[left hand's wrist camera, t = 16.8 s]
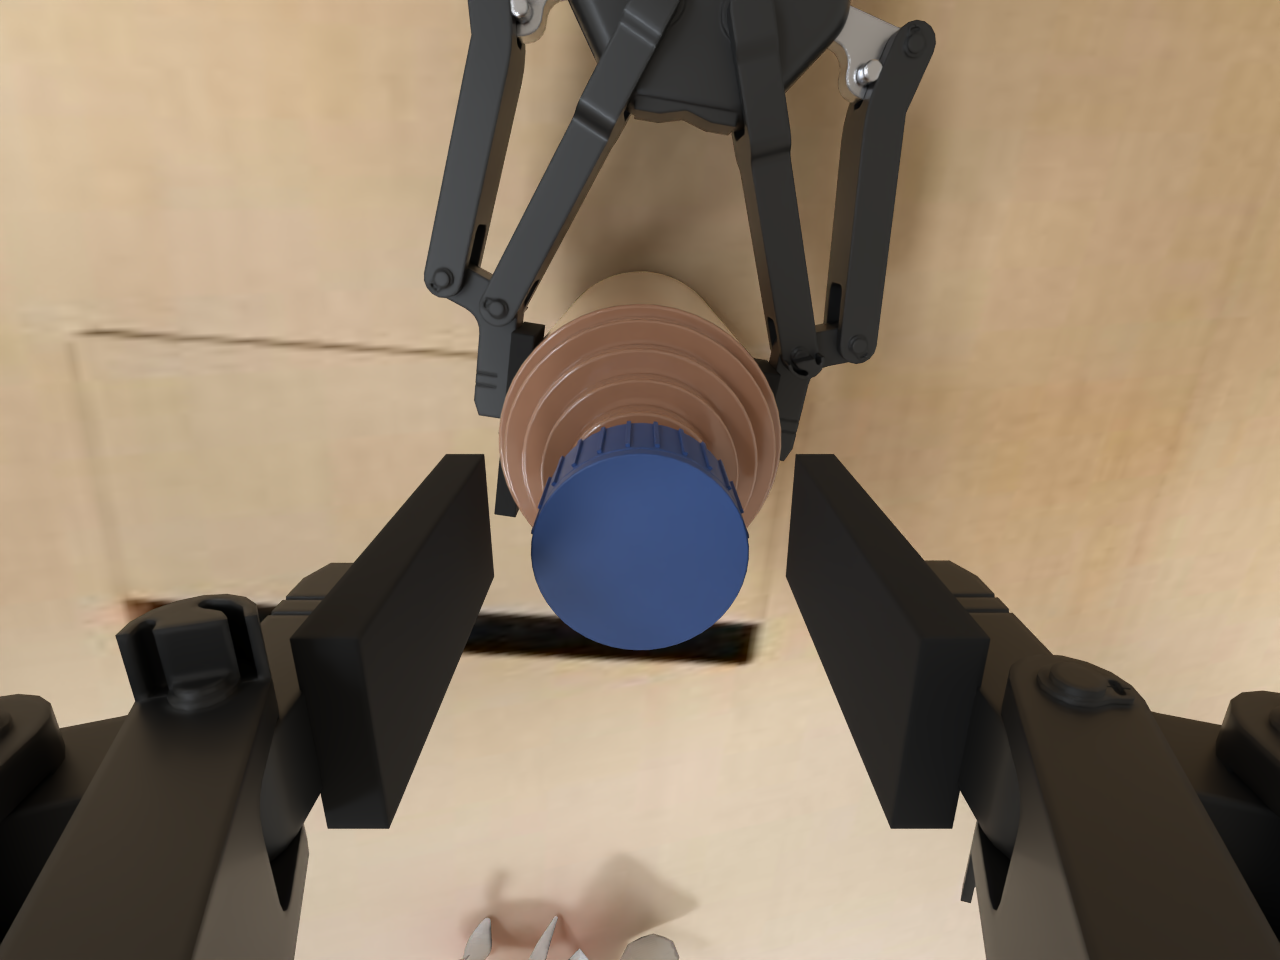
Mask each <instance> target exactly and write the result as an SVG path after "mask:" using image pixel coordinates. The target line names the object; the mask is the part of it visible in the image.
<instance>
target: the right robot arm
mask: <svg viewBox="0 0 1280 960" xmlns="http://www.w3.org/2000/svg"><path fill="white" fill-rule="evenodd" d="M560 1H565V0H468V7H469V16H470V25H471V34H472V35H471V40H470V45H469V50H468V55H467V60H466V65H465V70H464V75H463V80H462V85H461V90H460V95H459V100H458V105H457V110H456V115H455V120H454V125H453V130H452V135H451V140H450V146H449V151H448V156H447V161H446V166H445V171H444V176H443V181H442V186H441V191H440V196H439V201H438V206H437V211H436V216H435V221H434V226H433V231H432V236H431V241H430V246H429V251H428V256H427V261H426V266H425V271H424V281H425V284H426V286H427V288H428V289H429V291H430V292H431V293H432V294H434V295H436V296H438V297H441V298H447V299H449V300H451V301H453V302H455V303H457V304H458V305H460V306H462V307H464V308H466V309H467V310H469V311H470V312H471V313H472V314H473V315H474V316H475V318H476V320H477V322H478V325H479V346H478V359H477V373H476V385H475V397H474V401H475V404H476V408H477V411H478V414H479V415H481V416H488V417H494V418H501V412H502V409H503V405H504V401H505V397H506V395H507V392H508V390H509V388H510V385H511V383H512V380H513V379H514V377H515V375H516V374H517V372H518V370H519V369H520V367H521V365H522V364H523V362H524V361H525V360H526V359H527V357H528V356H529V355H530V354H531V352H532V351H533V350H534V349H535V348H536V346H537V345H538V344H539V343H540V342H541V341H542V339H543V338H544V330H545V325H542V324H535V323H529V322H524V323H523V317H524V312H525V311H526V310H527V308H528V307H527V305H528V304H529V302H530V300H531V298H532V296H533V294H534V292H535V290H536V289H537V287H538V285H539V283H540V281H541V279H542V277H543V276H544V274H545V272H546V270H547V268H548V266H549V264H550V262H551V261H552V259H553V257H554V255H555V253H556V251H557V249H558V247H559V246H560V244H561V242H562V240H563V238H564V236H565V234H566V233H567V231H568V229H569V227H570V225H571V223H572V221H573V219H574V218H575V216H576V214H577V212H578V210H579V208H580V206H581V204H582V203H583V201H584V199H585V197H586V195H587V193H588V191H589V190H590V188H591V186H592V184H593V182H594V180H595V178H596V176H597V175H598V173H599V171H600V169H601V167H602V165H603V163H604V161H605V160H606V158H607V156H608V154H609V152H610V150H611V149H612V147H613V145H614V144H615V143H616V141H617V139H618V138H619V136H620V134H621V132H622V130H623V129H624V127H625V125H626V123H627V121H628V119H629V117H630V116H631V114H633V115H635V119H638V120H644V121H650V122H655V123H661V122H670V121H678V120H683V121H686V122H688V123H690V124H692V125H694V126H696V127H698V128H700V129H702V130H704V131H706V132H712V133H718V134H723V135H729V134H730V133H732V139H733V145H734V150H735V156H736V160H737V164H738V166H739V169H740V173H741V179H742V185H743V191H744V197H745V202H746V208H747V214H748V220H749V226H750V232H751V238H752V244H753V250H754V256H755V261H756V267H757V273H758V279H759V285H760V291H761V297H762V303H763V309H764V315H765V320H766V326H767V332H768V338H769V344H770V349H771V356H770V360H769V362H768V361H767V360H761V359H755V358H753V359H754V360H755V361H756V362H757V364H758V366H759V367H760V369H761V370H762V372H763V374H764V375H765V377H766V379H767V381H768V383H769V386H770V388H771V390H772V392H773V395H774V398H775V402H776V405H777V408H778V412H779V419H780V426H781V451H780V459H779V460H781V461H784V460H785V459H786V457H787V456H788V454H789V453H790V451H791V450H792V449H793V445H794V440H795V436H796V432H797V428H798V424H799V420H800V416H801V412H802V408H803V404H804V400H805V395H806V391H807V387H808V384H809V381H810V379H811V378H812V377H815V376H816V375H817V374H818V373H819V372H820V371H821V370H822V368H824V367H827V366H831V365H836V364H841V363H847V362H850V363H854V364H858V363H863V362H865V361H867V360H868V359H870V358H871V356H872V355H873V354H874V352H875V349H876V346H877V338H878V330H879V322H880V314H881V306H882V298H883V290H884V282H885V275H886V267H887V259H888V251H889V243H890V235H891V227H892V219H893V211H894V203H895V195H896V187H897V179H898V171H899V163H900V155H901V148H902V140H903V132H904V124H905V116H906V112H907V110H908V107H909V105H910V103H911V101H912V99H913V96H914V94H915V92H916V90H917V87H918V85H919V83H920V81H921V79H922V76H923V74H924V72H925V70H926V68H927V65H928V63H929V61H930V59H931V56H932V54H933V52H934V48H935V44H936V41H935V33H934V31H933V29H932V27H931V26H930V25H929V24H927V23H926V22H925V21H920V20H915V21H911V22H908V23H907V24H905V25H904V26H903V27H902V28H899V27H896V26H894V25H892V24H890V23H887V22H885V21H883V20H881V19H879V18H876V17H874V16H872V15H870V14H868V13H866V12H863V11H861V10H859V9H857V8H855V7H852V6H850V0H568V1H569V4H570V6H571V8H572V10H573V12H574V14H575V17H576V19H577V21H578V23H579V25H580V27H581V30H582V32H583V34H584V36H585V38H586V40H587V43H588V45H589V47H590V49H591V51H592V53H593V55H594V58H595V60H596V62H597V66H596V68H595V70H594V72H593V74H592V76H591V78H590V80H589V82H588V84H587V85H586V87H585V89H584V91H583V93H582V95H581V98H580V100H579V102H578V104H577V107H576V110H575V114H574V116H573V118H572V121H571V123H570V124H569V126H568V128H567V130H566V132H565V134H564V136H563V138H562V140H561V142H560V144H559V146H558V148H557V150H556V152H555V154H554V156H553V158H552V160H551V162H550V164H549V166H548V168H547V170H546V171H545V173H544V175H543V177H542V179H541V181H540V183H539V185H538V187H537V189H536V191H535V193H534V195H533V197H532V199H531V201H530V203H529V205H528V207H527V209H526V211H525V213H524V215H523V217H522V218H521V220H520V222H519V224H518V226H517V228H516V230H515V232H514V234H513V236H512V238H511V240H510V242H509V244H508V246H507V248H506V250H505V252H504V254H503V256H502V258H501V260H500V262H499V264H498V265H497V267H496V269H495V271H494V273H493V274H491V273H489V272H487V271H486V270H484V269H482V268H480V267H481V262H482V258H483V253H484V249H485V244H486V240H487V235H488V231H489V227H490V222H491V218H492V213H493V209H494V204H495V200H496V195H497V191H498V187H499V182H500V178H501V173H502V169H503V164H504V160H505V155H506V151H507V146H508V142H509V138H510V133H511V129H512V124H513V120H514V115H515V111H516V106H517V102H518V98H519V93H520V89H521V84H522V78H523V73H524V65H525V44H529V43H533V42H536V41H537V40H539V39H540V38H541V37H542V35H543V34H544V31H545V29H546V23H547V17H548V14H549V12H550V10H551V8H552V7H553V6H554V5H555V4H557V3H558V2H560ZM826 49H829V50H830V51H832V52H833V53H834V54H835V55H836V57H837V58H838V61H839V65H840V73H839V79H838V89H839V91H840V94H841V95H842V97H843V98H844V99H845V100H847V101H848V102H850V105H849V108H848V111H847V115H846V119H845V122H844V127H843V134H842V140H841V150H840V160H839V170H838V181H837V191H836V201H835V211H834V221H833V231H832V241H831V252H830V262H829V272H828V282H827V292H826V302H825V312H824V322H823V324H819V325H815V322H814V315H813V309H812V302H811V295H810V288H809V281H808V274H807V267H806V261H805V254H804V247H803V240H802V233H801V226H800V219H799V212H798V206H797V199H796V192H795V185H794V178H793V171H792V164H791V157H790V150H791V133H790V125H789V118H788V111H787V104H786V97H785V92H786V91H787V90H788V89H789V88H790V87H791V86H792V85H793V84H794V83H795V82H796V81H797V80H798V79H799V78H800V77H801V76H802V74H803V73H804V72H805V71H806V70H807V69H808V68H809V67H810V66H811V65H812V64H813V63H814V62H815V61H816V60H817V59H818V58H819V56H820V55H821V54H822V53H823V52H824V51H825V50H826ZM518 510H519V508H518V506H517V504H516V503H515V501H514V499H513V497H512V495H511V492H510V490H509V488H508V486H507V483H506V480H505V477H504V473H503V470H502V466H501V459H500V461H499V471H498V482H497V493H496V504H495V514H497V515H503V516H510V517H516V515H517V512H518Z"/></svg>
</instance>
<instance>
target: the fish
mask: <svg viewBox="0 0 1280 960" xmlns="http://www.w3.org/2000/svg"><path fill="white" fill-rule="evenodd" d="M557 919H558V917H557V916H555V917H554V918H553V920H552V921H551V923H550V925H549V926H548V928H547V929H546V930H545V932H544V933H543V935H542V936H541V938H540V940H539V941H538V943H537V944H536V946H535V948H534V950H533V952H532V954H531V956H530V958H529V960H546V957H547V953H548V949H549V946H550V942H551V938H552V935H553V932H554V929H555V925H556V922H557ZM491 947H492V939H491V920H490V918H485V919H484V920H483V921H482V922H481V923H480V924H479V925H478V927H477V928H476V929H475V930H474V932H473V933H472V935H471V936H470V938H469V940H468V942H467V944H466V948H465V951H464V955H463V958H462V959H460V960H485V959H486V957H487V956H488V955H489V953H490V951H491ZM569 960H588V958H587V957H586V956H585V955H584V953H583V952H582V951H581V949H579V950H578V951H577V952H576V953H575V954H574V955H573V956H572V957H571V958H570V959H569ZM620 960H679V955H678V953H677V950H676V948H675V945H674V943H673V941H671V940H669V939H667V938H665V937H663V936H659V935H656V934H651V935H648V936H644V937H641V938H639V939H637V940H635V941H633V942H631V943H629V944H628V945H627V947H626V949H625V951H624V953H623V955H622V957H621V959H620Z"/></svg>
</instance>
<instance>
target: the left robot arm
mask: <svg viewBox="0 0 1280 960" xmlns="http://www.w3.org/2000/svg"><path fill="white" fill-rule="evenodd" d="M493 578H494V569H493V556H492V544H491V532H490V519H489V507H488V495H487V482H486V470H485V458H484V454H446V455H445V456H444V457H443V458H442V460H441V461H440V462H439V463H438V464H437V466H436V467H435V468H434V469H433V470H432V471H431V473H430V474H429V475H428V476H427V477H426V479H425V480H424V481H423V482H422V483H421V484H420V486H419V487H418V488H417V489H416V490H415V491H414V493H413V494H412V495H411V496H410V497H409V499H408V500H407V501H406V502H405V503H404V504H403V506H402V507H401V508H400V509H399V510H398V511H397V513H396V514H395V515H394V516H393V517H392V519H391V520H390V521H389V522H388V523H387V524H386V526H385V527H384V528H383V529H382V530H381V531H380V533H379V534H378V535H377V536H376V537H375V539H374V540H373V541H372V542H371V543H370V544H369V546H368V547H367V548H366V549H365V550H364V551H363V553H362V554H361V555H360V556H359V557H358V559H357V560H356V561H355V562H354V563H330V564H328V565H326V566H325V567H323V568H321V569H319V570H318V571H316V572H314V573H312V574H310V575H309V576H307V577H305V578H303V579H302V580H301V581H300V582H299V583H298V585H297V586H296V587H295V588H294V589H293V590H292V591H291V592H290V593H289V594H288V595H287V596H286V600H282V601H281V602H280V603H279V604H278V605H277V607H276V608H275V609H274V610H273V611H272V615H268V616H267V617H266V618H265V619H264V620H263V621H262V622H261V623H260V620H259V615H258V611H257V606H256V604H255V603H254V602H252V601H251V600H249V599H248V598H246V597H242V596H236V595H230V594H218V595H203V596H198V597H193V598H189V599H184V600H179V601H176V602H173V603H170V604H167V605H164V606H162V607H159V608H156V609H153V610H151V611H149V612H147V613H145V614H144V615H142V616H140V617H138V618H136V619H135V620H133V621H131V622H129V623H128V624H127V625H126V626H125V627H124V628H123V629H122V630H121V631H120V632H119V633H118V634H117V635H115V636H116V639H117V642H118V645H119V649H120V652H121V655H122V659H123V662H124V665H125V669H126V672H127V675H128V679H129V682H130V685H131V688H132V692H133V695H134V698H135V703H134V705H133V707H132V708H131V710H130V712H129V714H128V715H126V716H122V717H116V718H111V719H106V720H101V721H96V722H90V723H85V724H80V725H75V726H70V727H65V728H59V726H58V723H57V720H56V718H55V715H54V712H53V709H52V706H51V703H49V702H48V701H46V700H45V699H43V698H42V697H40V696H35V695H23V694H15V695H8V696H1V697H0V960H294V955H295V948H296V941H297V934H298V927H299V920H300V913H301V906H302V899H303V892H304V885H305V878H306V871H307V864H308V857H309V849H308V842H307V836H306V832H305V827H304V821H305V820H306V818H307V816H308V814H309V812H310V811H311V809H312V807H313V805H314V804H315V802H316V800H317V798H318V796H319V795H320V793H321V798H322V802H323V807H324V812H325V817H326V822H327V827H328V829H389V828H390V825H391V823H392V820H393V818H394V816H395V813H396V811H397V808H398V806H399V804H400V801H401V799H402V796H403V794H404V792H405V789H406V787H407V784H408V782H409V780H410V777H411V775H412V772H413V770H414V768H415V765H416V763H417V760H418V758H419V756H420V753H421V751H422V748H423V746H424V744H425V741H426V739H427V736H428V734H429V732H430V729H431V727H432V724H433V722H434V720H435V717H436V715H437V712H438V710H439V708H440V705H441V703H442V700H443V698H444V696H445V693H446V691H447V688H448V686H449V684H450V681H451V679H452V676H453V674H454V672H455V669H456V667H457V664H458V662H459V660H460V657H461V655H462V652H463V650H464V648H465V645H466V643H467V640H468V638H469V636H470V633H471V631H472V628H473V626H474V624H475V621H476V619H477V616H478V614H479V612H480V609H481V607H482V604H483V602H484V599H485V597H486V595H487V592H488V590H489V587H490V585H491V583H492V580H493ZM786 578H787V580H788V583H789V585H790V587H791V590H792V592H793V595H794V597H795V599H796V602H797V604H798V607H799V609H800V612H801V614H802V616H803V619H804V621H805V624H806V626H807V628H808V631H809V633H810V636H811V638H812V640H813V643H814V645H815V648H816V650H817V652H818V655H819V657H820V660H821V662H822V664H823V667H824V669H825V672H826V674H827V676H828V679H829V681H830V684H831V686H832V688H833V691H834V693H835V696H836V698H837V700H838V703H839V705H840V708H841V710H842V712H843V715H844V717H845V720H846V722H847V724H848V727H849V729H850V732H851V734H852V736H853V739H854V741H855V744H856V746H857V748H858V751H859V753H860V756H861V758H862V760H863V763H864V765H865V768H866V770H867V772H868V775H869V777H870V780H871V782H872V784H873V787H874V789H875V792H876V794H877V796H878V799H879V801H880V804H881V806H882V808H883V811H884V813H885V816H886V818H887V820H888V823H889V825H890V828H891V829H952V827H953V822H954V817H955V812H956V807H957V802H958V798H959V793H960V791H961V793H962V795H963V796H964V798H965V800H966V802H967V803H968V805H969V807H970V809H971V810H972V812H973V814H974V816H975V818H976V819H977V822H976V827H975V832H974V836H973V841H972V845H971V850H970V855H969V859H968V864H967V868H966V873H965V878H964V882H963V888H962V895H961V901H964V902H968V903H971V900H972V896H973V891H974V888H975V887H976V891H977V898H978V905H979V912H980V918H981V925H982V932H983V939H984V946H985V953H986V960H1280V693H1275V692H1268V691H1254V692H1242V693H1240V694H1239V695H1237V696H1236V697H1234V698H1233V699H1231V701H1230V703H1229V706H1228V709H1227V712H1226V715H1225V718H1224V720H1223V723H1222V725H1217V724H1212V723H1207V722H1202V721H1196V720H1191V719H1186V718H1181V717H1176V716H1170V715H1165V714H1160V713H1156V712H1152V711H1150V709H1149V707H1148V705H1147V704H1146V702H1145V700H1144V699H1143V698H1142V697H1141V696H1140V694H1139V693H1138V692H1137V691H1136V690H1135V689H1134V688H1133V686H1131V685H1130V684H1128V683H1127V682H1125V681H1124V680H1122V679H1121V678H1119V677H1118V676H1116V675H1115V674H1113V673H1112V672H1109V671H1107V670H1105V669H1102V668H1100V667H1098V666H1095V665H1093V664H1091V663H1088V662H1085V661H1081V660H1077V659H1073V658H1069V657H1065V656H1060V655H1053V654H1052V653H1051V652H1050V651H1049V650H1048V649H1047V648H1046V647H1045V646H1044V645H1043V644H1042V643H1041V642H1040V641H1039V640H1038V639H1037V638H1036V637H1035V636H1034V635H1033V634H1032V632H1031V631H1030V630H1029V629H1028V628H1027V627H1026V626H1025V625H1024V624H1023V623H1022V622H1021V621H1020V620H1019V619H1018V618H1017V617H1016V616H1015V615H1014V614H1013V613H1009V609H1008V608H1007V607H1006V605H1005V604H1004V603H1003V602H1002V601H1001V600H1000V599H999V598H995V597H994V593H993V592H992V591H991V590H990V589H989V588H988V587H987V586H986V585H985V584H984V583H983V582H982V581H981V580H980V578H979V577H978V576H976V575H974V574H973V573H971V572H969V571H967V570H965V569H964V568H962V567H960V566H958V565H956V564H955V563H953V562H951V561H924V560H923V559H922V557H921V556H920V555H919V554H918V553H917V551H916V550H915V549H914V548H913V547H912V546H911V544H910V543H909V542H908V541H907V540H906V539H905V537H904V536H903V535H902V534H901V533H900V531H899V530H898V529H897V528H896V527H895V526H894V524H893V523H892V522H891V521H890V520H889V519H888V517H887V516H886V515H885V514H884V513H883V511H882V510H881V509H880V508H879V507H878V506H877V504H876V503H875V502H874V501H873V500H872V499H871V497H870V496H869V495H868V494H867V493H866V491H865V490H864V489H863V488H862V487H861V486H860V484H859V483H858V482H857V481H856V480H855V479H854V477H853V476H852V475H851V474H850V473H849V471H848V470H847V469H846V468H845V467H844V466H843V464H842V463H841V462H840V461H839V460H838V459H837V457H836V456H835V455H834V454H796V458H795V470H794V482H793V495H792V507H791V519H790V532H789V544H788V556H787V569H786Z"/></svg>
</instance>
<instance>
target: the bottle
mask: <svg viewBox="0 0 1280 960" xmlns="http://www.w3.org/2000/svg"><path fill="white" fill-rule="evenodd" d="M627 421H631V423H650V424H653V422H654V421H655V422H658V425H662V426H667V427H670V428H673V429H676V430H679V428H680V429H683V431H684V433H685V434H687V435H689V436H691V437H692V438H694V439H695V440H697V441H698V442H700V443H701V442H702V441H703V442H704V443H705V444H706V447H707V449H708V450H709V451H710V452H711V453H712V454H713V455H714V456H715V458H716V459H717V460H720V459H721V460H722V462H723V465H724V467H725V470H726V473H727V476H728V479H729V481H733V483H734V486H735V489H736V491H737V494H738V497H739V500H740V502H741V505H742V508H743V511H744V513H742V517H743V520H744V523H745V526H746V528H747V527H748V526H749V525H750V523H751V522H752V521H753V519H754V518H755V516H756V515H757V514H758V512H759V511H760V509H761V507H762V506H763V504H764V502H765V501H766V499H767V497H768V495H769V492H770V490H771V488H772V485H773V483H774V480H775V476H776V473H777V469H778V465H779V459H780V451H781V426H780V419H779V412H778V408H777V405H776V402H775V398H774V395H773V392H772V390H771V388H770V386H769V383H768V381H767V379H766V377H765V375H764V374H763V372H762V370H761V369H760V367H759V366H758V364H757V362H756V361H755V360H754V359H753V357H752V356H751V355H750V354H749V353H748V352H747V350H746V349H745V348H744V347H743V346H742V344H741V343H740V342H739V341H738V340H737V339H736V337H735V336H734V335H733V334H732V333H731V332H730V330H729V329H728V328H727V327H726V326H725V325H724V323H723V322H722V321H721V320H720V319H719V318H718V316H717V315H716V314H715V313H714V312H713V311H712V309H711V308H710V307H709V306H708V305H707V304H706V302H705V301H704V300H703V299H702V298H701V297H700V296H699V295H698V294H697V293H696V292H695V291H694V290H693V289H691V288H690V287H688V286H687V285H685V284H684V283H682V282H680V281H678V280H676V279H674V278H672V277H669V276H666V275H663V274H659V273H654V272H645V271H635V272H626V273H621V274H617V275H614V276H611V277H608V278H606V279H604V280H602V281H600V282H598V283H596V284H594V285H593V286H592V287H590V288H589V289H588V290H586V291H585V292H584V293H583V294H582V295H581V296H580V297H579V298H578V299H577V300H576V301H575V302H574V303H573V305H572V306H571V307H570V308H569V309H568V310H567V312H566V313H565V314H564V315H563V316H562V317H561V319H560V320H559V321H558V322H557V323H556V324H555V325H554V327H553V328H552V329H551V330H550V331H549V332H548V334H547V335H546V336H545V337H544V338H543V339H542V341H541V342H540V343H539V344H538V345H537V346H536V348H535V349H534V350H533V351H532V352H531V354H530V355H529V356H528V357H527V359H526V360H525V361H524V362H523V364H522V365H521V367H520V369H519V370H518V372H517V374H516V375H515V377H514V379H513V380H512V383H511V385H510V388H509V390H508V392H507V395H506V397H505V401H504V405H503V409H502V412H501V418H500V426H499V453H500V459H501V466H502V470H503V473H504V477H505V480H506V483H507V486H508V488H509V490H510V492H511V495H512V497H513V499H514V501H515V503H516V504H517V506H518V508H519V509H520V511H521V512H522V514H523V515H524V517H525V518H526V519H527V521H528V522H529V523H530V525H531V526H532V527H533V525H534V522H535V519H536V516H537V514H538V511H539V509H538V505H539V502H540V499H541V497H542V494H543V491H544V488H545V486H546V483H547V480H548V478H549V477H552V476H553V474H554V472H555V470H556V468H557V465H558V463H559V460H560V458H561V456H564V457H565V456H566V455H567V454H568V453H569V452H570V451H571V450H572V449H573V448H574V447H575V446H576V445H577V443H578V440H580V439H582V440H584V439H586V438H588V437H589V436H591V435H593V434H595V433H597V432H599V431H600V430H601V428H602V427H605V428H606V429H607V428H610V427H613V426H617V425H623V424H627Z"/></svg>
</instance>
